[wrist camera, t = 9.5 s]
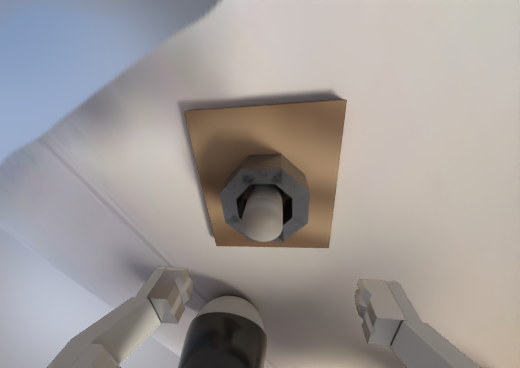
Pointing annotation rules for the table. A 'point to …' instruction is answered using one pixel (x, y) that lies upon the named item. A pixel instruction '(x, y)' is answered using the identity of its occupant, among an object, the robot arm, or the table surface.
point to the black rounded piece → (225, 336)
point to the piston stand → (270, 142)
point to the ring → (267, 172)
